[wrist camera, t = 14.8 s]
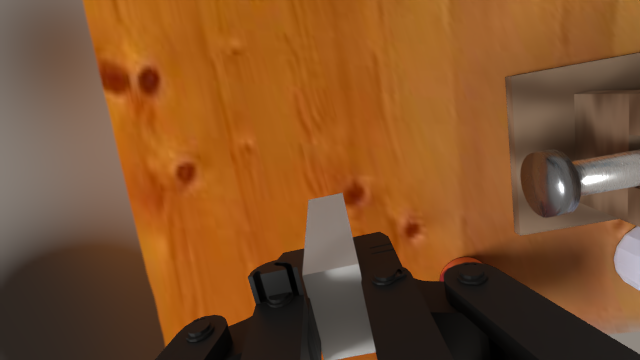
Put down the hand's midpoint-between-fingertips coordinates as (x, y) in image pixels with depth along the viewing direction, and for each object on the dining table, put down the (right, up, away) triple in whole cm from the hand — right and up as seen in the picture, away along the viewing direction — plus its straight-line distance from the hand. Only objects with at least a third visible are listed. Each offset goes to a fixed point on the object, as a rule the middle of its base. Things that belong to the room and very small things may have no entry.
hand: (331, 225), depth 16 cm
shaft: (+27, +4, +17) cm, 32 cm away
